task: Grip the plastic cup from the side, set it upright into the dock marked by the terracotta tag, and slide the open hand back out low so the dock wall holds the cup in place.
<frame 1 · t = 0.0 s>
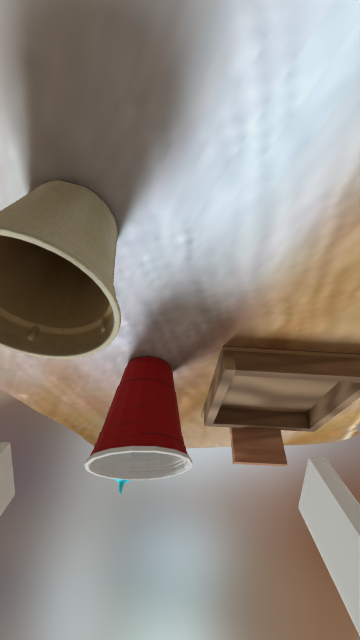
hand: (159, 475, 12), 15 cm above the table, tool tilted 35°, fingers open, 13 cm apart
cup dock: (273, 385, 37), on the table
flower pot: (76, 220, 20), on the table
plastic cup: (151, 366, 35), on the table
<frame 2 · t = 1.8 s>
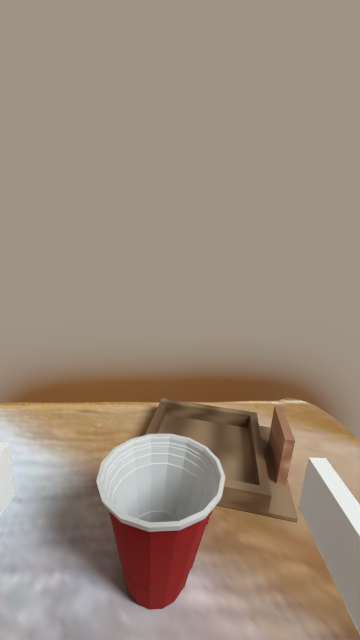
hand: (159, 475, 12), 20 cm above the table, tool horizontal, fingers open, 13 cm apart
cup dock: (202, 452, 42), on the table
plastic cup: (155, 571, 26), on the table
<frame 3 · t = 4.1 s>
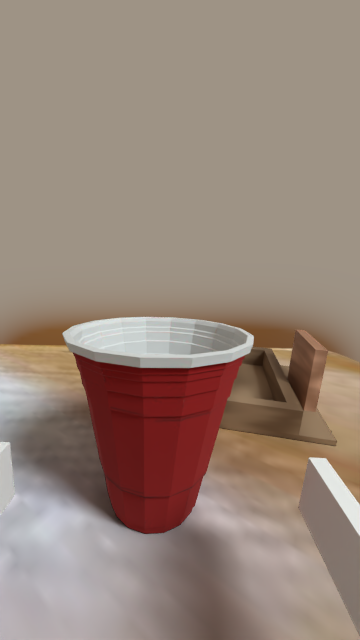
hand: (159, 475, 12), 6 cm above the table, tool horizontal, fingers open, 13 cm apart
cup dock: (209, 385, 35), on the table
plastic cup: (153, 492, 19), on the table
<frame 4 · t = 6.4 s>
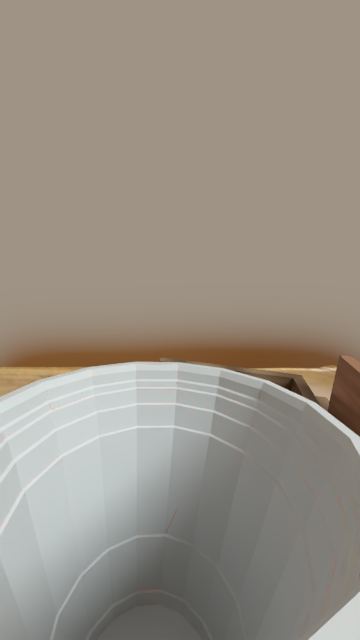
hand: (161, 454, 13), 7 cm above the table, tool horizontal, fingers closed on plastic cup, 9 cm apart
cup dock: (226, 429, 26), on the table
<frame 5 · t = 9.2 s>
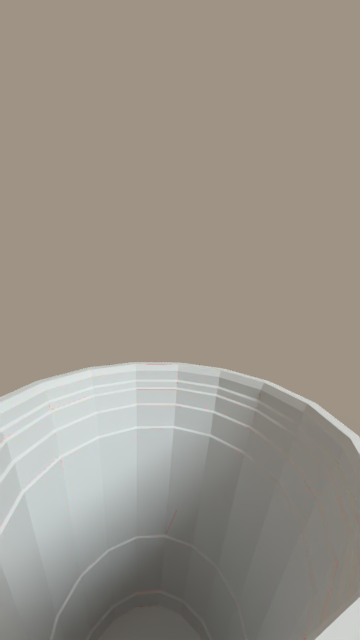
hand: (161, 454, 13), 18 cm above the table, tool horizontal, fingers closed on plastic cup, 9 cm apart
when the fingers open (8 cm above the table, at t = 12.2 s): plastic cup stays where it is, resting on cup dock.
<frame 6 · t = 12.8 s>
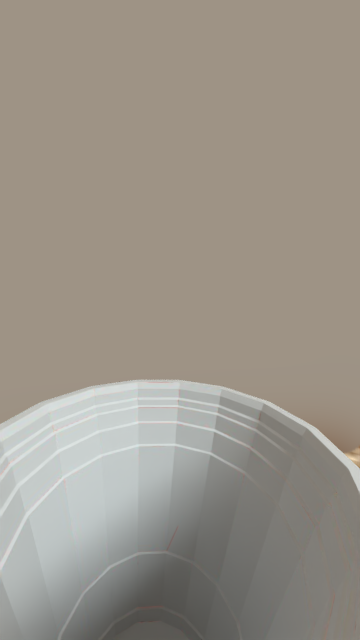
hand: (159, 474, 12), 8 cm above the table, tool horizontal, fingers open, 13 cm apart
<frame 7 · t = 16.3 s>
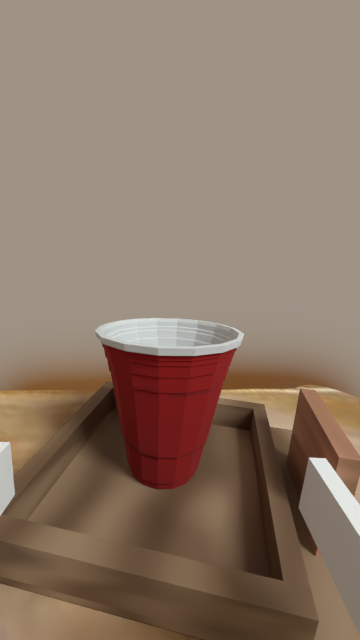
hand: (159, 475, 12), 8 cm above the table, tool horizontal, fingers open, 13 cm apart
cup dock: (161, 478, 22), on the table
plastic cup: (162, 461, 23), resting on cup dock
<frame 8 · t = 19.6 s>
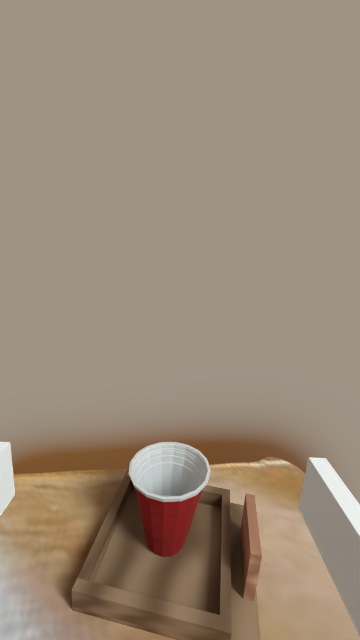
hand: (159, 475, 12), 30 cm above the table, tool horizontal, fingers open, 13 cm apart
cup dock: (164, 547, 37), on the table
plastic cup: (165, 535, 39), resting on cup dock
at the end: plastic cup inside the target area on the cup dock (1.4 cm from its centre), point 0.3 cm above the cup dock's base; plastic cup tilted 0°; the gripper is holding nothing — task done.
